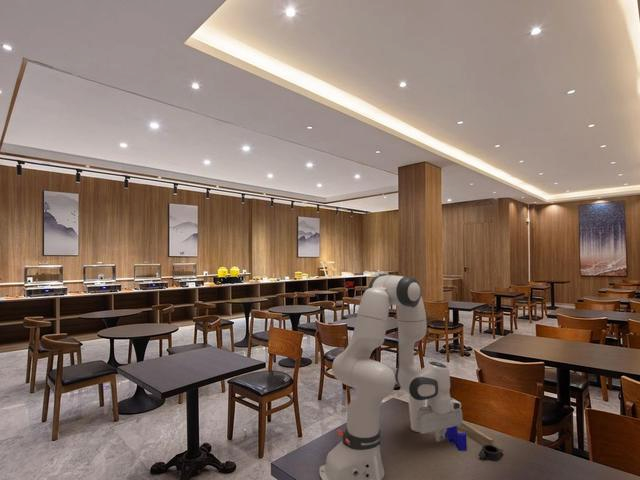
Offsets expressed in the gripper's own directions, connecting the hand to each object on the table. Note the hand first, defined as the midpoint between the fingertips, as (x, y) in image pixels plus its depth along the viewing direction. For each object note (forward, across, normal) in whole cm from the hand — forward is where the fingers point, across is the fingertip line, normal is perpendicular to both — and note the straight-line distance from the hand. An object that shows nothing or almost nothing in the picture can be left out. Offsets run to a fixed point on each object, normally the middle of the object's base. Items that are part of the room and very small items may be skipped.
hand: (439, 439), depth 140 cm
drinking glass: (+2, -1, +13) cm, 13 cm away
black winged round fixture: (+2, +12, -14) cm, 18 cm away
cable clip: (+2, +7, -1) cm, 7 cm away
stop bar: (+2, +13, +1) cm, 14 cm away
